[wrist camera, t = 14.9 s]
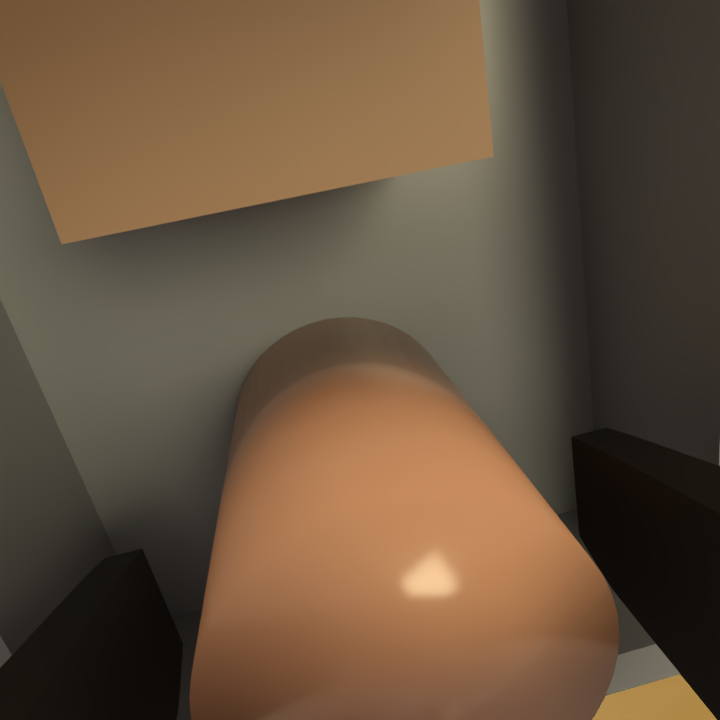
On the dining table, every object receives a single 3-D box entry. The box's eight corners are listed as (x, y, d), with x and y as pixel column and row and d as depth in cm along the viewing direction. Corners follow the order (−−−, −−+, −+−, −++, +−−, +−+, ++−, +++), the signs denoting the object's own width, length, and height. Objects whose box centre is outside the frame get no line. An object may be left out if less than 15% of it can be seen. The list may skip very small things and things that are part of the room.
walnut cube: (403, 157, 11) (493, 155, 7) (153, 207, 11) (61, 244, 6) (358, -153, 9) (436, -459, 5) (58, -104, 9) (-173, -381, 4)
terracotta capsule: (460, 488, 14) (620, 773, 8) (263, 533, 14) (251, 874, 7) (436, 296, 12) (619, 451, 6) (209, 343, 12) (126, 565, 5)
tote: (618, 507, 16) (760, 651, 11) (130, 638, 15) (64, 851, 10) (576, -358, 10) (862, -853, 5) (-273, -209, 9) (-903, -632, 4)
